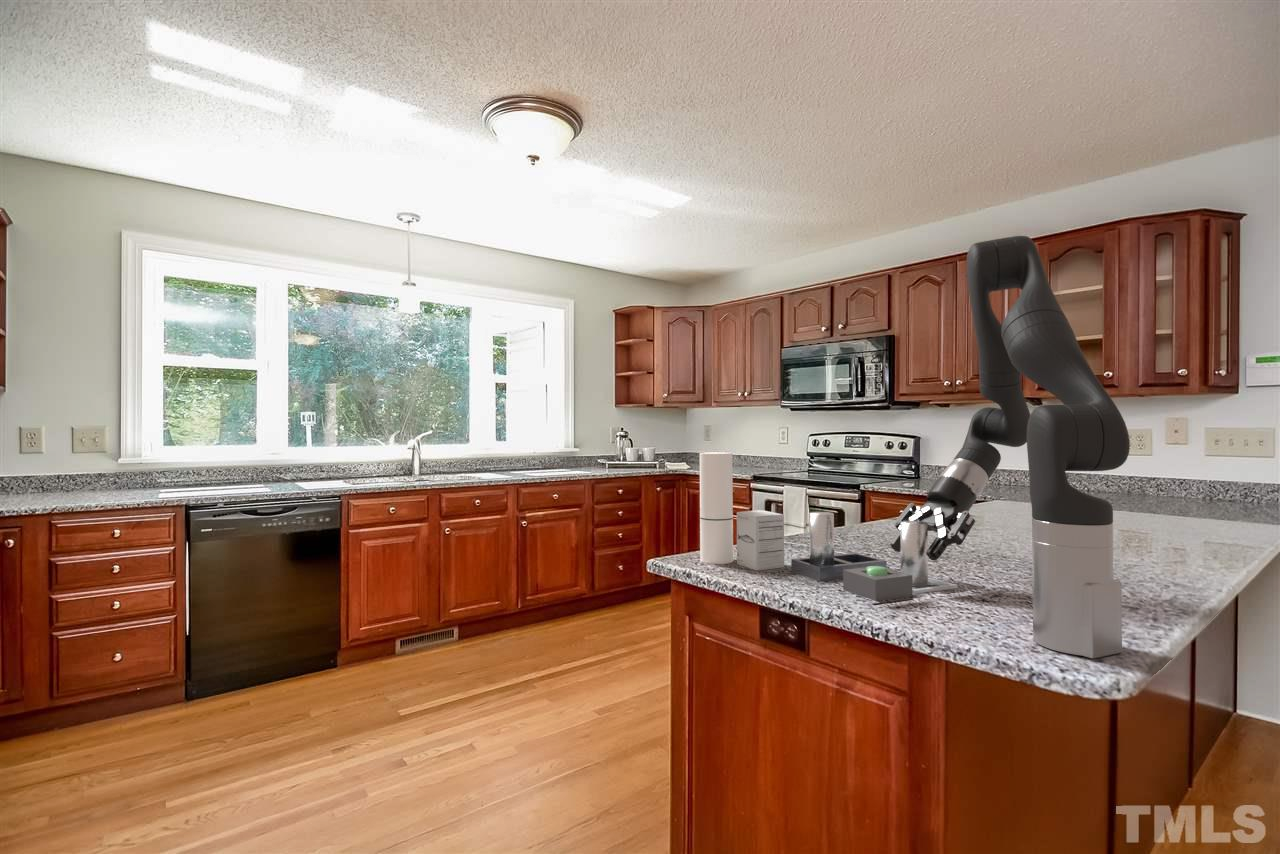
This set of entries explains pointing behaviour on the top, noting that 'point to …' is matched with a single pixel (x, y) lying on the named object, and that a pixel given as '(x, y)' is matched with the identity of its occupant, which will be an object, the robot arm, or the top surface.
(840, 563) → the double-well grey tray
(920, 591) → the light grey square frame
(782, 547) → the supplement box
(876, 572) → the button
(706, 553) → the cylindrical container
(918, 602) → the top surface
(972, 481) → the robot arm
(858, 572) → the block
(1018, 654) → the top surface
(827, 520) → the cylinder
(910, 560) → the cylinder
